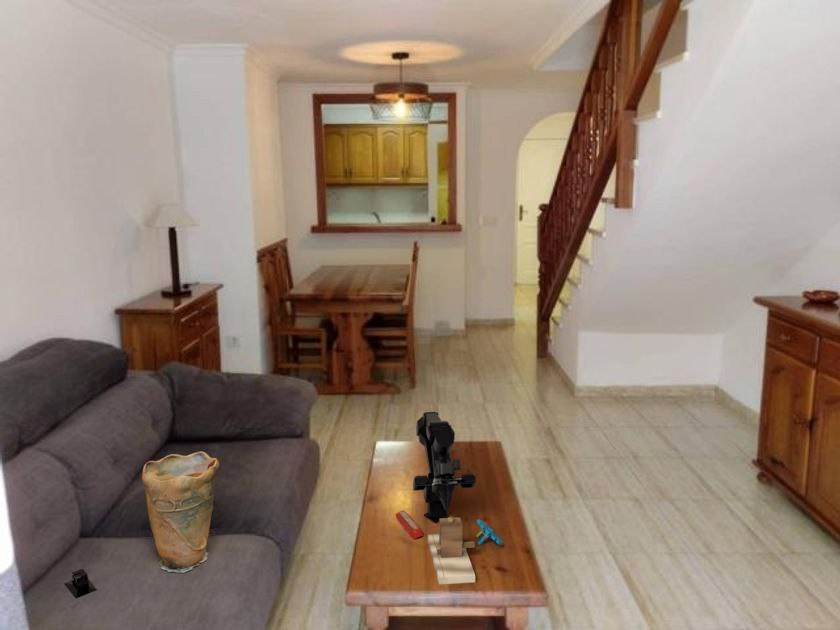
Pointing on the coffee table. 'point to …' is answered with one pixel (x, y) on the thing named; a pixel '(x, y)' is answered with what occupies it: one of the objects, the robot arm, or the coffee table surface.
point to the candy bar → (409, 524)
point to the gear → (487, 533)
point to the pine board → (451, 565)
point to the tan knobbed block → (451, 538)
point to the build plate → (80, 584)
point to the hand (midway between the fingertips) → (447, 509)
